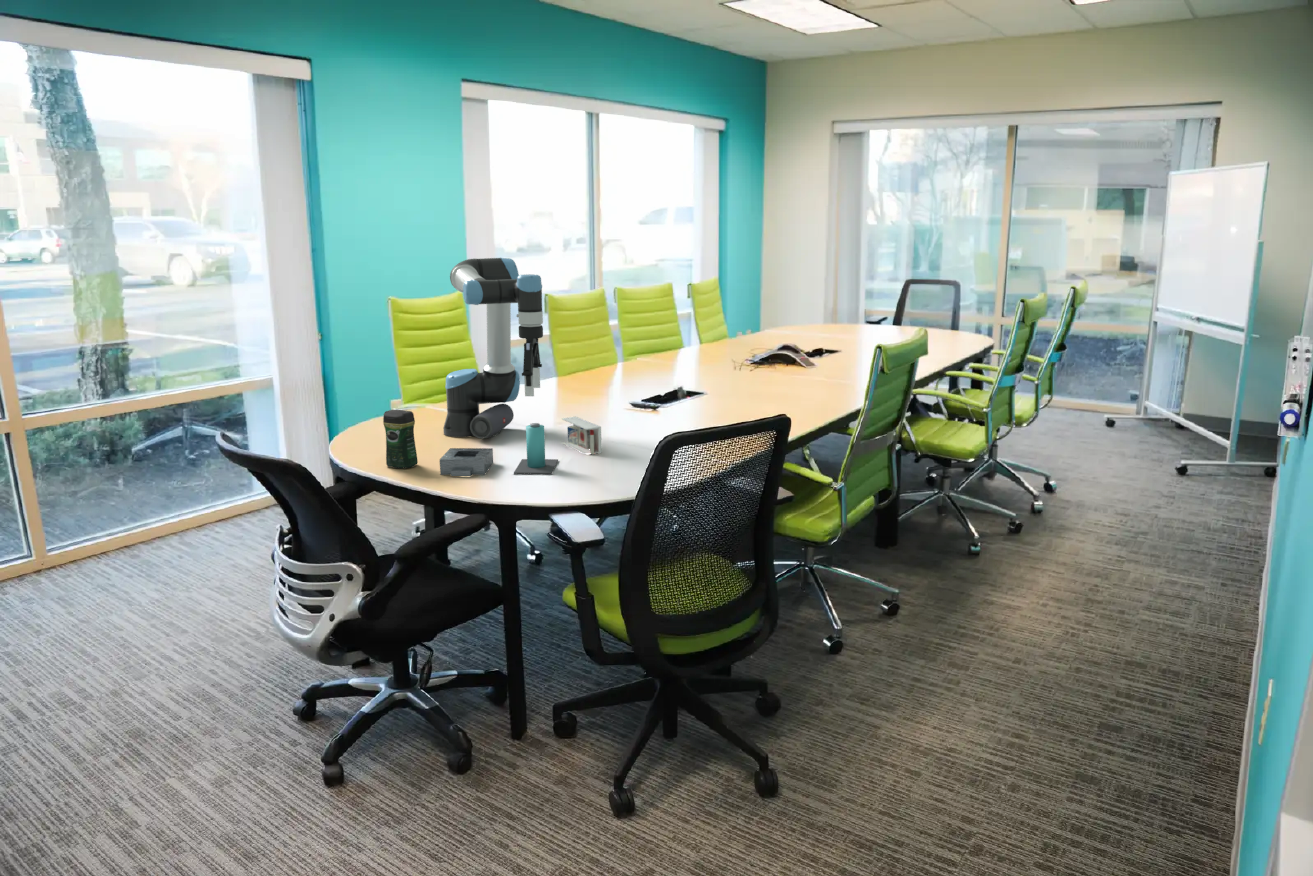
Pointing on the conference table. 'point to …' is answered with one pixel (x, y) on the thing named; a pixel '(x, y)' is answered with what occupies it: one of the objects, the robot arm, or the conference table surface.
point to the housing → (466, 461)
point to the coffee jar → (400, 439)
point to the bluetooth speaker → (491, 421)
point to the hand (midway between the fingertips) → (532, 391)
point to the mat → (545, 470)
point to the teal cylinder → (535, 445)
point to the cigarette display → (583, 435)
